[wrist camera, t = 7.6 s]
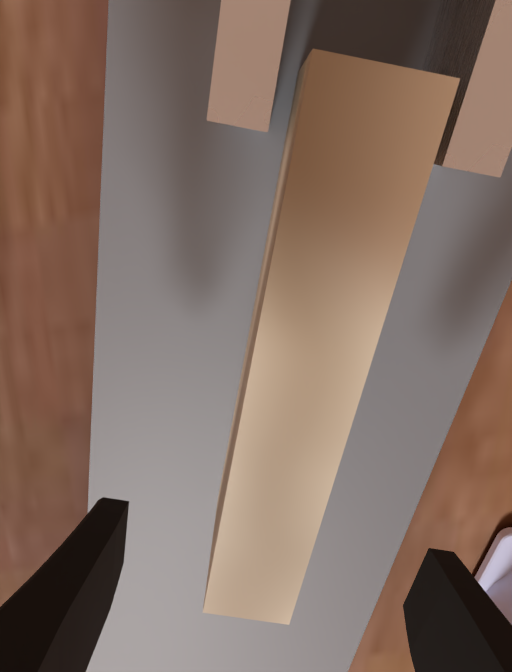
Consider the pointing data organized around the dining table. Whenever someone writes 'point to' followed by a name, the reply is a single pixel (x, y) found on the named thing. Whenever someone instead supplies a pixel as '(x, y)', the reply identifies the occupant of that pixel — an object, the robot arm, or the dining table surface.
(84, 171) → the dining table surface
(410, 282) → the assembly board
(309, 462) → the birch slat
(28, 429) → the dining table surface
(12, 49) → the dining table surface
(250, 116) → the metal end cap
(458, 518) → the dining table surface
